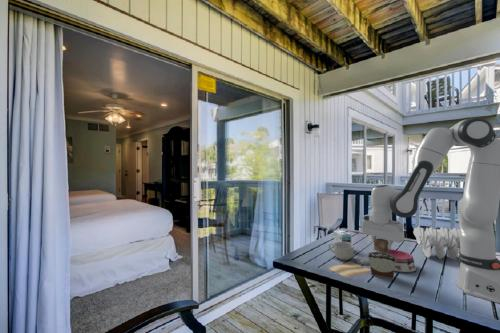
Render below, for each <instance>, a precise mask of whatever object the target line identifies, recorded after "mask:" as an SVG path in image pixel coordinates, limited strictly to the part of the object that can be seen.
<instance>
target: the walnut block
mask: <svg viewBox="0 0 500 333" xmlns="http://www.w3.org/2000/svg"><path fill="white" fill-rule="evenodd" d="M388 243H389V242H388V240H387V239H383V238H379V237H378V238H376V239H374V241H373V248H374V251H376V252H379V251H380V252H383V253H385V252H389V251H391V249H392V248H391V249H386V245H388Z"/></svg>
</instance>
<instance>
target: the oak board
mask: <svg viewBox="0 0 500 333" xmlns="http://www.w3.org/2000/svg"><path fill="white" fill-rule="evenodd" d="M326 269H327V270H330V271H332V272H334V273H336V274H338V275H341V277H344V278H346V279H350V278H354V277H357V276H360V275H364V274H368V273H371V269H370V268H368V267H365V266H364V265H362V264H359V263H357V262H353V261H347V262H343V263H339V264H336V265H332V266H328V267H326Z"/></svg>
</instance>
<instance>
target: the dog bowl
mask: <svg viewBox="0 0 500 333" xmlns="http://www.w3.org/2000/svg"><path fill="white" fill-rule="evenodd" d="M378 252H380V251H378ZM385 253H388V254H391V255H393V256H395V258H396V261H397V262H396V261H395V270H394V273H400V274H411V273H416V272H417V267H416V264H415V260H414V257H413V255H412V254H411V253H409V252H407V251H403V250H399V249H398V250H397V249H393V248H391V251H389V252H385Z"/></svg>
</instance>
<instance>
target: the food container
mask: <svg viewBox="0 0 500 333" xmlns="http://www.w3.org/2000/svg"><path fill="white" fill-rule="evenodd" d="M367 258H369V261H370V265H369V266H370V268H369V269H370V270H371V272H370V274H371V276H375V277H382V278H386V279H392V280H395V279H394V278H395V272H394V270H395V261H396V258H395V256H393V255H391V254H388V253H383V252H379V251H371V252H368V255H367ZM396 262H397V261H396Z"/></svg>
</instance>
